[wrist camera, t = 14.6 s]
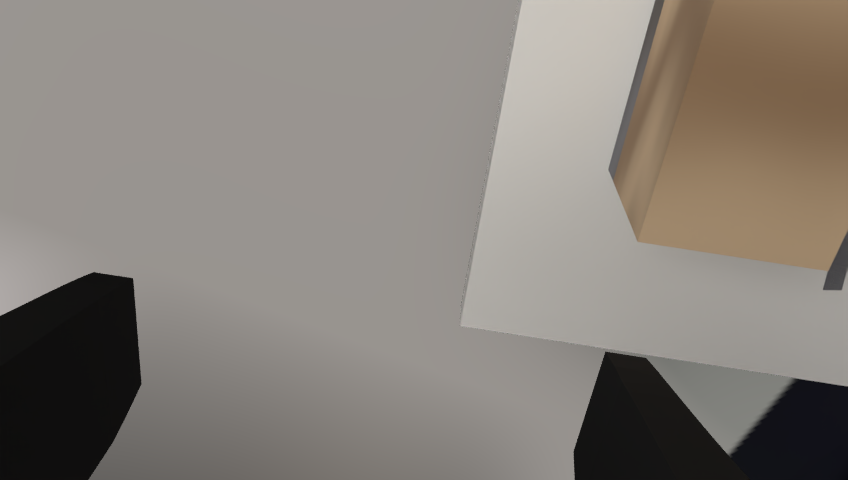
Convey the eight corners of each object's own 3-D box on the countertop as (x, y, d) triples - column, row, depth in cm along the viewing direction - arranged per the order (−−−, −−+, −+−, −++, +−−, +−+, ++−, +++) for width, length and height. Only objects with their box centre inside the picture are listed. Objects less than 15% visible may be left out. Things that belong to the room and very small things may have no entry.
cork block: (761, 192, 18) (828, 271, 15) (608, 169, 18) (637, 241, 15) (880, -108, 15) (1004, -100, 11) (692, -136, 15) (757, -138, 11)
